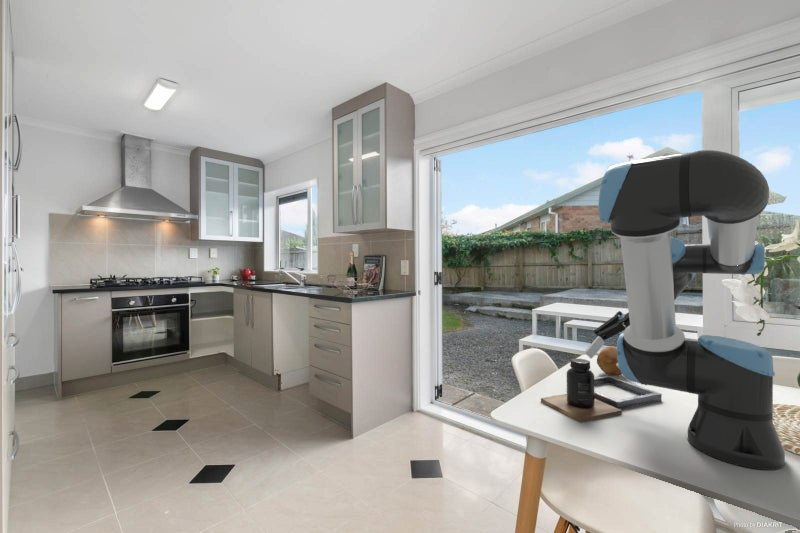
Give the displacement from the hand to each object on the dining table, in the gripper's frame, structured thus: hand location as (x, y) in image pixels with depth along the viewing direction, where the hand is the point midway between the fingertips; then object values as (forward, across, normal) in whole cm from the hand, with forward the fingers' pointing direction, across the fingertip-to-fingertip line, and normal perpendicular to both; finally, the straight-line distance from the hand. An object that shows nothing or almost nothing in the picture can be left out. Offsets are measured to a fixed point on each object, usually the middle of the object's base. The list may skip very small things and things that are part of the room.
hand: (602, 361), depth 101 cm
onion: (-6, +21, -24) cm, 33 cm away
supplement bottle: (+13, -1, -2) cm, 14 cm away
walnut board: (+14, -1, -2) cm, 14 cm away
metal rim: (+3, +6, -14) cm, 16 cm away
